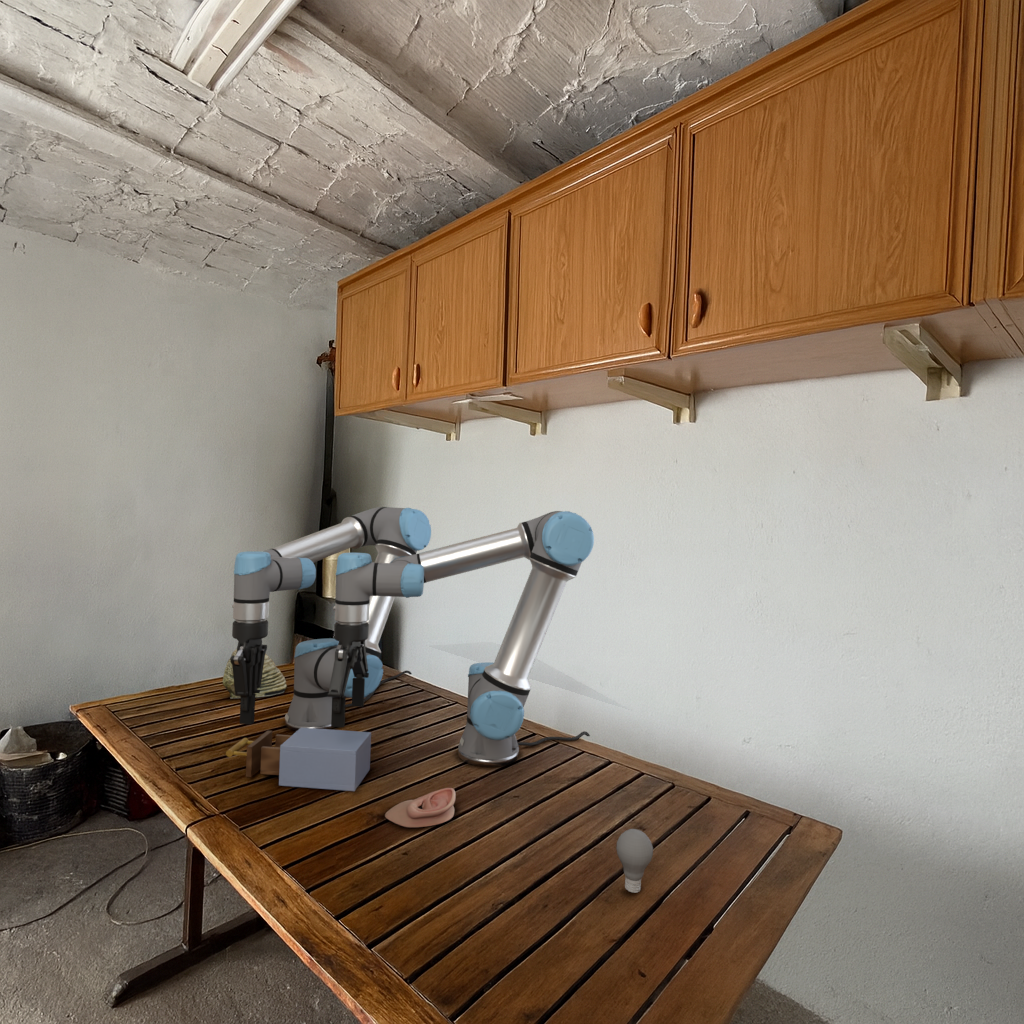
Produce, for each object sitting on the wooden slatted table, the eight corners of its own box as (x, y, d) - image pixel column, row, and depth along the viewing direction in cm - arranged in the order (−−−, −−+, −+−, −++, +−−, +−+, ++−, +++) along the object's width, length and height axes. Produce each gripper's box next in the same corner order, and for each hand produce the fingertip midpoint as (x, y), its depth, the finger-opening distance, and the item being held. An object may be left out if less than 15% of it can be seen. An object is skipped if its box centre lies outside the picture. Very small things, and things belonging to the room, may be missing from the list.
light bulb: (610, 879, 108) (613, 822, 108) (644, 879, 109) (647, 822, 109) (619, 902, 102) (622, 840, 102) (655, 901, 103) (658, 840, 103)
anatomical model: (379, 803, 124) (401, 778, 135) (378, 823, 124) (400, 796, 135) (444, 812, 121) (461, 786, 132) (443, 833, 121) (460, 805, 132)
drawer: (221, 775, 140) (222, 745, 139) (244, 756, 150) (245, 728, 149) (314, 782, 138) (315, 751, 138) (330, 763, 148) (331, 734, 148)
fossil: (218, 695, 195) (220, 647, 195) (278, 685, 208) (279, 640, 207) (228, 703, 189) (230, 653, 188) (289, 692, 201) (290, 645, 201)
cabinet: (278, 785, 138) (280, 745, 138) (299, 764, 149) (300, 727, 149) (354, 791, 137) (356, 751, 137) (369, 769, 148) (371, 732, 148)
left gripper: (248, 613, 150) (245, 712, 151) (219, 624, 137) (215, 732, 138) (279, 615, 150) (275, 714, 150) (253, 626, 137) (249, 734, 137)
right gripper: (353, 611, 155) (350, 697, 155) (314, 632, 130) (310, 734, 130) (383, 612, 154) (380, 699, 155) (350, 634, 129) (346, 737, 130)
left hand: (246, 722), depth 144 cm, fingers closed
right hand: (348, 715), depth 142 cm, fingers open, 13 cm apart
